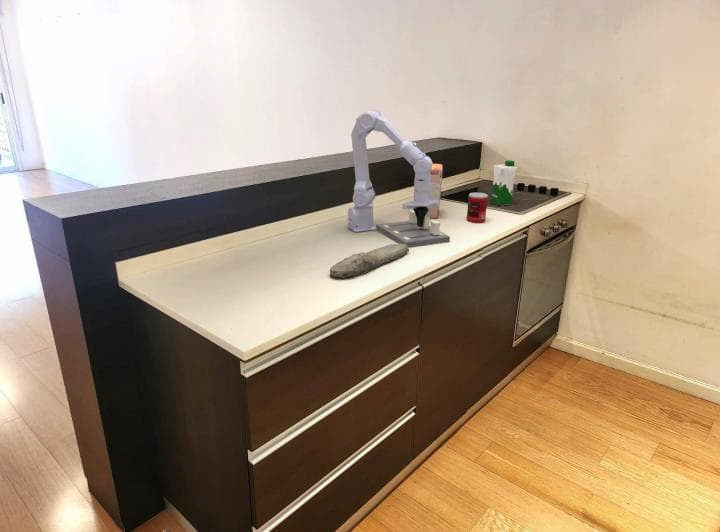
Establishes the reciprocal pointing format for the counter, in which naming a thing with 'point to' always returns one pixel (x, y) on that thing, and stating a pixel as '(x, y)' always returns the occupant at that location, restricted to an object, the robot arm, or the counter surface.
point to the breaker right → (435, 227)
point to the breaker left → (412, 217)
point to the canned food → (477, 207)
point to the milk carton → (503, 183)
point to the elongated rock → (367, 260)
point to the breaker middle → (426, 222)
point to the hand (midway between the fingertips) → (419, 226)
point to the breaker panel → (411, 234)
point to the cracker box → (435, 189)
